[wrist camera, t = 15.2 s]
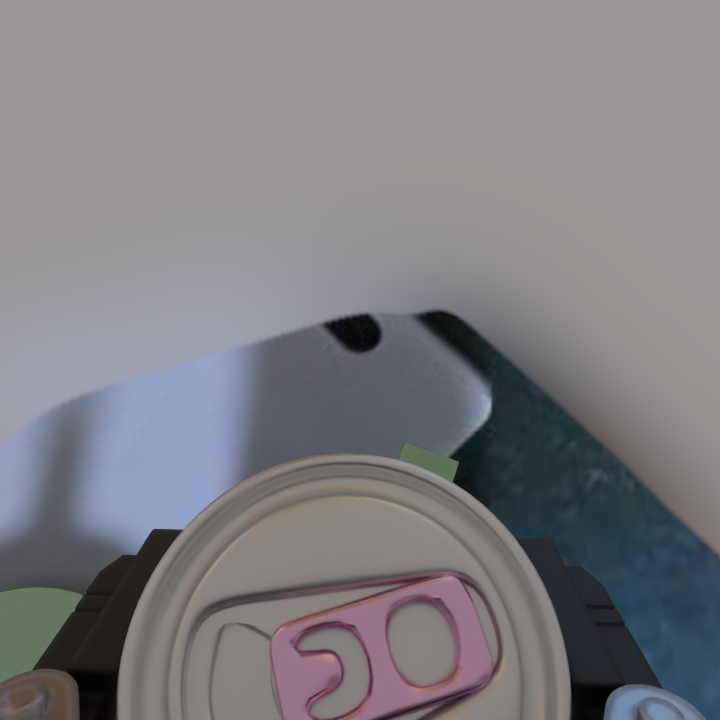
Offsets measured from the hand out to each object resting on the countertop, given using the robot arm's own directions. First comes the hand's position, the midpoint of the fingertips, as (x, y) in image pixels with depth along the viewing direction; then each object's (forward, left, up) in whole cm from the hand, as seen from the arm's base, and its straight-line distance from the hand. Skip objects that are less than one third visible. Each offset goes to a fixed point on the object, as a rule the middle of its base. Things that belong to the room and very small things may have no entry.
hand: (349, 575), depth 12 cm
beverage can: (-1, +2, -11) cm, 11 cm away
